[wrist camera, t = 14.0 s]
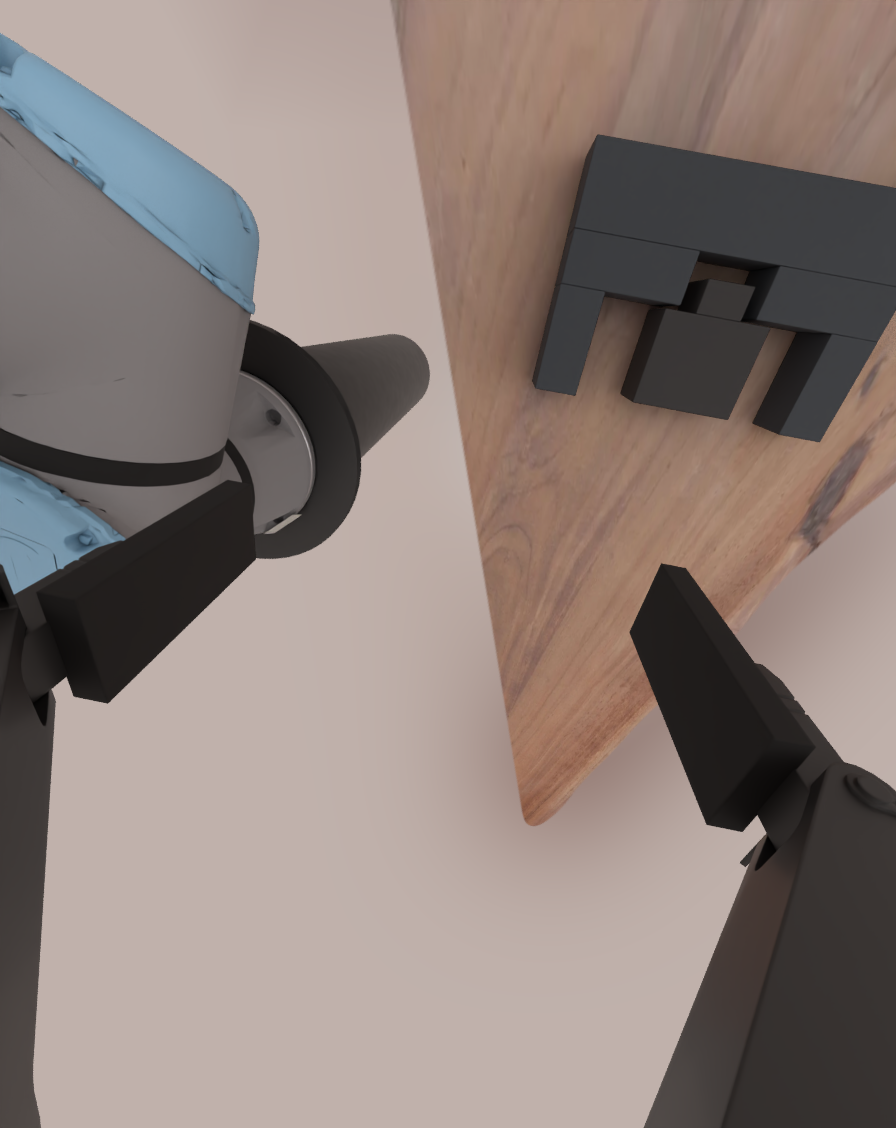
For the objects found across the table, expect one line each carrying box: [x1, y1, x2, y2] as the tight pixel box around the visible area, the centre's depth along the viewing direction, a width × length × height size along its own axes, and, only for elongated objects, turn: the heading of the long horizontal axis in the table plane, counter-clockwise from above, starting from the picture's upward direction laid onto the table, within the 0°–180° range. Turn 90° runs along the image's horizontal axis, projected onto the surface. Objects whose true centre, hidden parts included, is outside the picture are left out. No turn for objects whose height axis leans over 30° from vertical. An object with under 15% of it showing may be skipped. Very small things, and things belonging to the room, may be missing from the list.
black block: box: [621, 279, 770, 420], centre depth 32 cm, size 7×8×4 cm
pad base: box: [532, 135, 896, 442], centre depth 31 cm, size 21×14×4 cm, turn 81°
